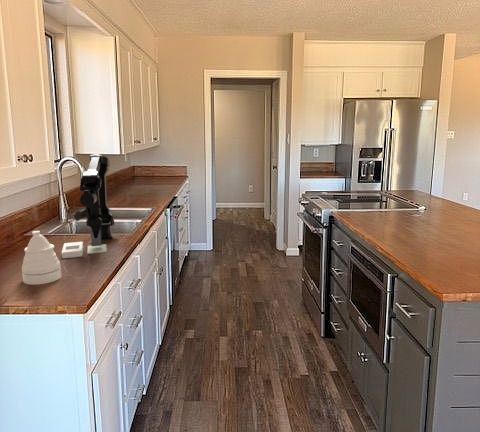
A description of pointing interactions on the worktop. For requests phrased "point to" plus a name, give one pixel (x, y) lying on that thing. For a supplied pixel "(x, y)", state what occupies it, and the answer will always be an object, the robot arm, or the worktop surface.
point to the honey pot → (40, 261)
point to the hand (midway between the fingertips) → (95, 237)
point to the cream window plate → (72, 250)
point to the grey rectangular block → (95, 239)
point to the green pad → (96, 249)
